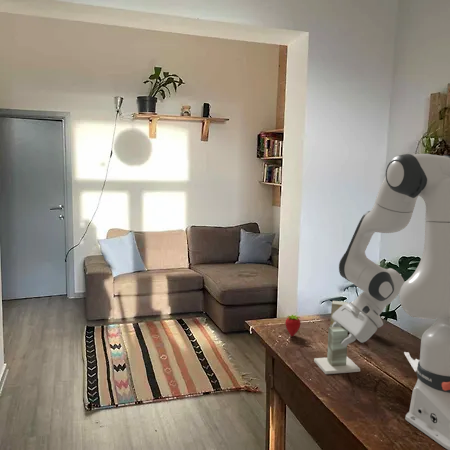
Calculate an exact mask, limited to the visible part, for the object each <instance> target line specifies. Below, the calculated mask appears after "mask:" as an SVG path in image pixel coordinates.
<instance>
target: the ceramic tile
mask: <svg viewBox="0 0 450 450" xmlns="http://www.w3.org/2000/svg"><path fill="white" fill-rule="evenodd" d="M313 359H314V360H313V362H314V363H315V364H316V365H317V366H318V368H319V369H320V370H321V371H322V372H323V373H324V374H325V375H333V374H334V375H335V374H347V373H357V372H361V368H360V367H359V366H358V365H357V364H356V363H355V362H354V361H353V360H352V359H351V358H350V357H348V356H347V359H346V366H331V365H330V364H329V363H328V362H327V357H315V358H313Z"/></svg>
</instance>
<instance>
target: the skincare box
mask: <svg viewBox="0 0 450 450" xmlns="http://www.w3.org/2000/svg"><path fill="white" fill-rule="evenodd" d="M347 303H349V301H348V302H347V301H341V300H340V301H338V300H332V302H331V308H330V309H331V310H330V311H331V312H330V325H329V327H332V325H333V323H334V322H335V321H334V319H333V318H332V315H333V313H334V312H335V311H336V310H338V309H339V308H340V307H341V306H342V305H344V304H347Z"/></svg>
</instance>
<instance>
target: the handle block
mask: <svg viewBox="0 0 450 450" xmlns="http://www.w3.org/2000/svg"><path fill="white" fill-rule="evenodd" d="M327 330H328V331H327V332H328V335H327V354H326V355H327V362H328V363H329V364H330V365H331V366H346V359H347V357H348V354H347V353H348V345H347V346H346V347H344V346H342V345H341V344H340V341H341V340H342V339H345V338H347V337H349V336H348V335H349V334H348V333H349V332H348V331H347V330H346V329H345V328H344V327H343V326H342V327H330V326H329V327H328V328H327Z"/></svg>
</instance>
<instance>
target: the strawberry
mask: <svg viewBox="0 0 450 450" xmlns="http://www.w3.org/2000/svg"><path fill="white" fill-rule="evenodd" d="M301 325H302V324H301V317H299V316H297V315H295V313H293V314H291V315H288V316H287V317H286V319H285V328H286V330H287V332H288V333H289V335H290V337H292V338H293V337H294V336H296V334H297V332H299V330H300V327H301Z"/></svg>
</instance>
